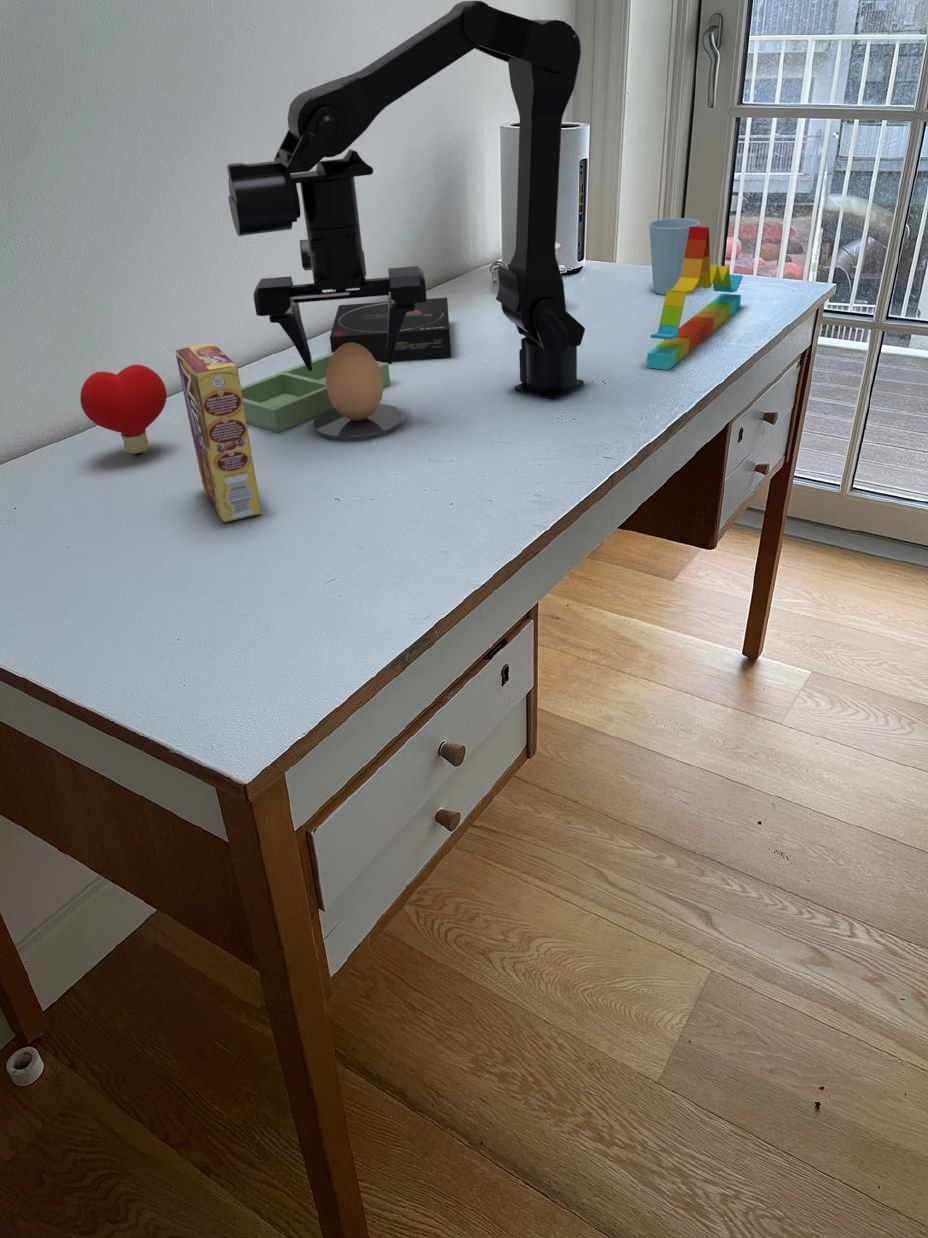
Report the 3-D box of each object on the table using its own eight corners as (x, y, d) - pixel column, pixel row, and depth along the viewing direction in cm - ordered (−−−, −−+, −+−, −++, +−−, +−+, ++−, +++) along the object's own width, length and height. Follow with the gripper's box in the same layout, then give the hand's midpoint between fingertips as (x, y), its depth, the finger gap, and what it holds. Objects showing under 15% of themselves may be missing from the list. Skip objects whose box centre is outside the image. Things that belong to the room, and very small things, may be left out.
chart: (719, 305, 149) (727, 200, 141) (739, 307, 148) (749, 201, 140) (645, 367, 128) (649, 247, 120) (668, 370, 126) (675, 249, 118)
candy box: (266, 514, 98) (238, 364, 90) (224, 524, 96) (191, 373, 88) (242, 482, 105) (214, 340, 96) (203, 492, 103) (171, 348, 95)
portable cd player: (449, 322, 150) (447, 296, 148) (451, 357, 136) (449, 328, 134) (342, 330, 151) (339, 303, 148) (333, 365, 136) (329, 336, 134)
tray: (390, 384, 128) (388, 363, 127) (277, 432, 116) (273, 410, 115) (337, 371, 134) (334, 351, 132) (224, 416, 122) (220, 394, 120)
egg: (320, 424, 116) (308, 348, 111) (353, 405, 121) (344, 331, 116) (364, 432, 113) (355, 354, 108) (397, 413, 117) (389, 337, 113)
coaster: (422, 418, 117) (421, 413, 117) (358, 448, 111) (357, 443, 110) (359, 401, 123) (358, 397, 123) (295, 429, 117) (294, 424, 116)
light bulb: (103, 474, 109) (79, 387, 103) (92, 453, 114) (68, 370, 109) (186, 454, 112) (166, 369, 107) (171, 435, 117) (152, 353, 112)
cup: (637, 293, 158) (640, 225, 152) (662, 282, 163) (665, 216, 157) (678, 299, 154) (683, 229, 148) (703, 288, 158) (708, 220, 153)
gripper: (416, 203, 112) (427, 339, 120) (252, 216, 111) (275, 352, 120) (420, 222, 102) (432, 368, 111) (242, 236, 102) (267, 382, 110)
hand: (350, 366), depth 113 cm, fingers open, 9 cm apart
